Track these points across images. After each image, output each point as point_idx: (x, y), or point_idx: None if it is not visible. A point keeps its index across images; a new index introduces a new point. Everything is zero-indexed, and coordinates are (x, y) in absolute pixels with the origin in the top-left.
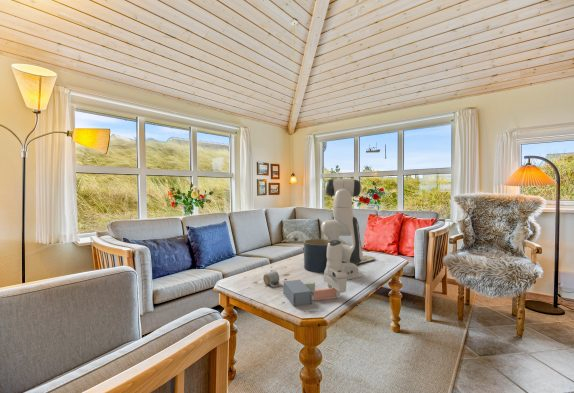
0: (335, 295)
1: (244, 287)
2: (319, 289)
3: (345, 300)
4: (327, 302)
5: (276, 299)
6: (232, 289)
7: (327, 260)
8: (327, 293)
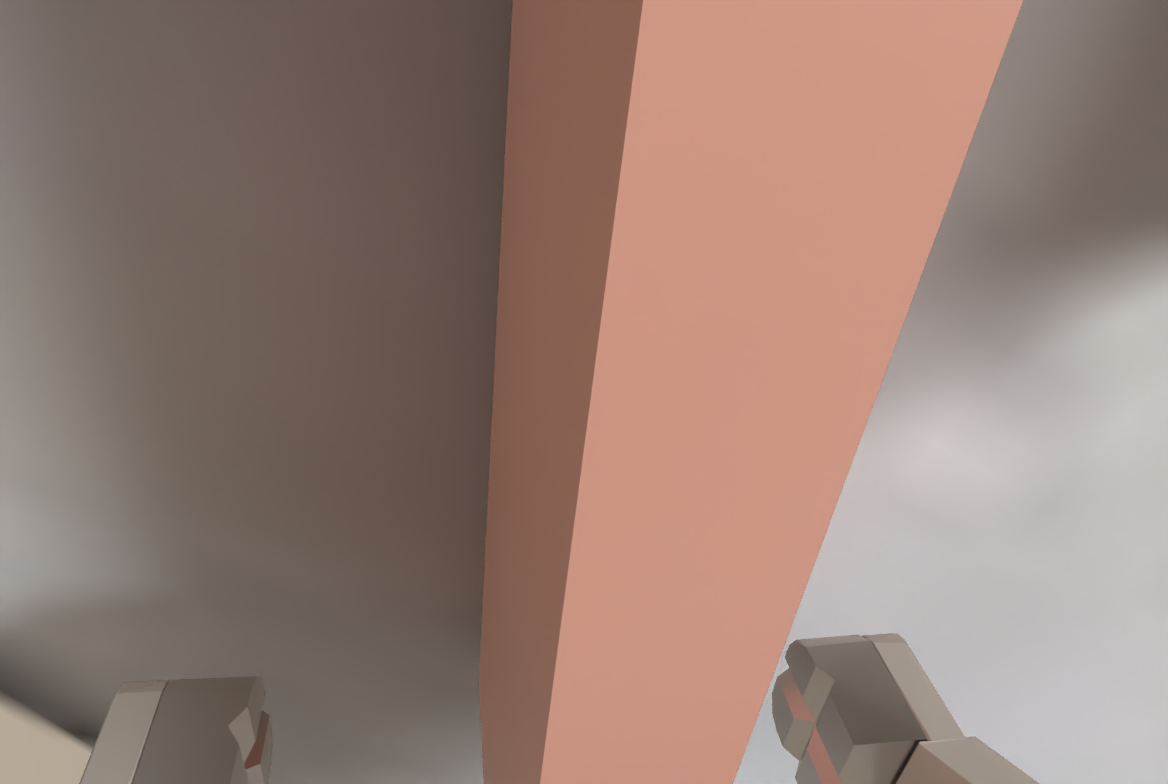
0: (487, 684)
1: None
2: (1011, 11)
3: None
4: (140, 155)
5: None
6: None
7: None
8: (518, 496)
